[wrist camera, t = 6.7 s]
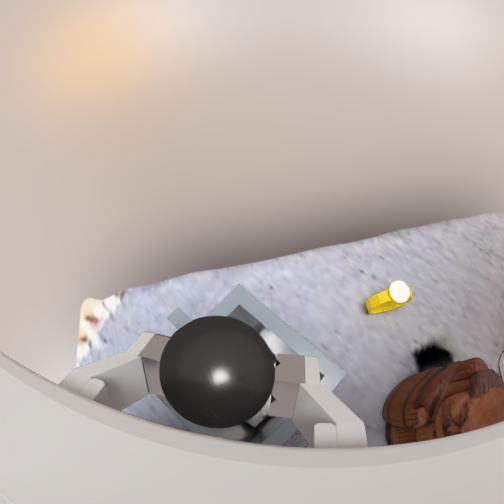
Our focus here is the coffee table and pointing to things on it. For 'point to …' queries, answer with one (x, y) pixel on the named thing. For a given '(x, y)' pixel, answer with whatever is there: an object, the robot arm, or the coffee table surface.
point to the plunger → (218, 373)
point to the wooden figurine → (444, 402)
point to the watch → (389, 298)
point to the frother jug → (282, 342)
